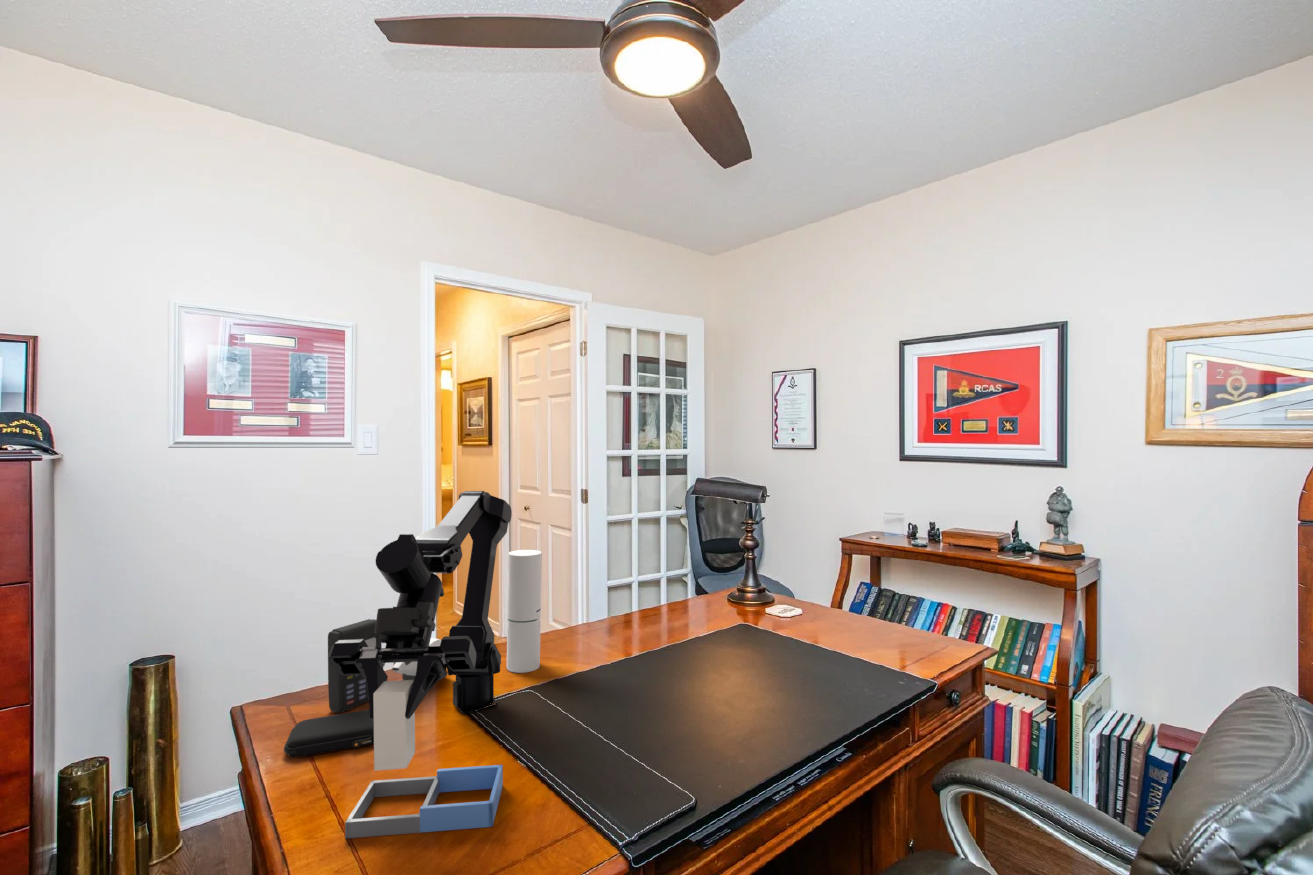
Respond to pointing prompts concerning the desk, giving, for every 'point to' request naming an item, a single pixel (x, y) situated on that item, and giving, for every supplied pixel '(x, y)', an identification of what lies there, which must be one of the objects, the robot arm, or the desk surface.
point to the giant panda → (412, 664)
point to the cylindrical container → (524, 610)
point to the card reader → (351, 688)
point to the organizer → (430, 803)
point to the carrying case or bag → (330, 734)
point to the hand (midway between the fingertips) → (389, 718)
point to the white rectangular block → (393, 726)
